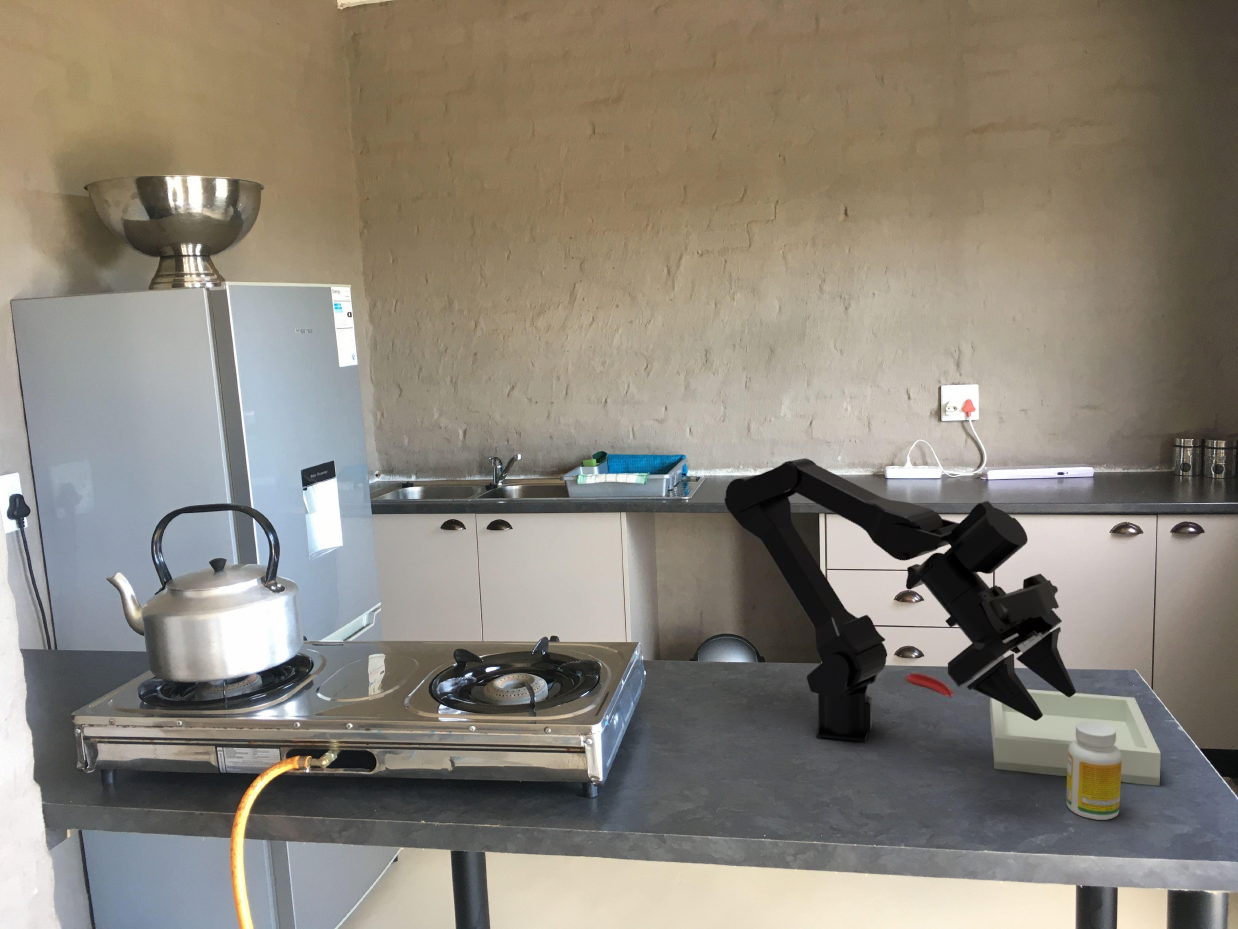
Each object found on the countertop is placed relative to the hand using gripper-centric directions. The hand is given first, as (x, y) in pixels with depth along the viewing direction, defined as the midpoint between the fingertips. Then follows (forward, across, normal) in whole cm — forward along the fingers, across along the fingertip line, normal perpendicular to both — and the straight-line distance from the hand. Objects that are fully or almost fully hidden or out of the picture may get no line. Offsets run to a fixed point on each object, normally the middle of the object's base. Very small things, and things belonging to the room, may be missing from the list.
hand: (1056, 706), depth 111 cm
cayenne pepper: (-12, +23, +28) cm, 38 cm away
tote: (+5, +15, +11) cm, 19 cm away
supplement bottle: (+11, 0, +5) cm, 12 cm away
